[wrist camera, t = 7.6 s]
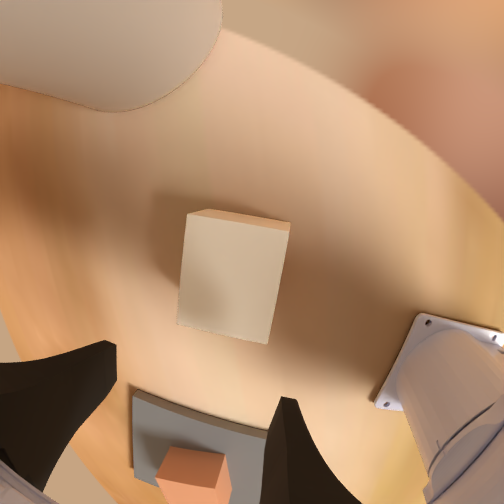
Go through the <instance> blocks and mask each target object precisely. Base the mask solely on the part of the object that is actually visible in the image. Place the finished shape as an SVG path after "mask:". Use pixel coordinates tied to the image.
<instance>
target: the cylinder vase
mask: <svg viewBox="0 0 504 504" xmlns="http://www.w3.org/2000/svg"><path fill="white" fill-rule="evenodd" d="M222 11H223V10H222V3H221V0H0V84H5V85H9V86H13V87H18V88H22V89H26V90H30V91H33V92H37V93H41V94H45V95H48V96H52V97H55V98H59V99H62V100H66V101H69V102H73V103H76V104H79V105H82V106H86V107H89V108H92V109H95V110H99V111H104V112H123V111H129V110H134V109H137V108H140V107H143V106H146V105H148V104H151V103H153V102H155V101H157V100H159V99H161V98H163V97H164V96H166V95H168V94H169V93H171V92H172V91H174V90H175V89H176V88H178V87H179V86H180V85H181V84H183V83H184V82H185V81H186V80H187V79H188V78H189V77H190V76H191V75H192V74H193V73H194V72H195V71H196V70H197V69H198V68H199V67H200V66H201V65H202V63H203V62H204V61H205V59H206V58H207V56H208V55H209V53H210V52H211V50H212V48H213V46H214V45H215V42H216V40H217V38H218V35H219V32H220V29H221V25H222V17H223V12H222Z"/></svg>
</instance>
